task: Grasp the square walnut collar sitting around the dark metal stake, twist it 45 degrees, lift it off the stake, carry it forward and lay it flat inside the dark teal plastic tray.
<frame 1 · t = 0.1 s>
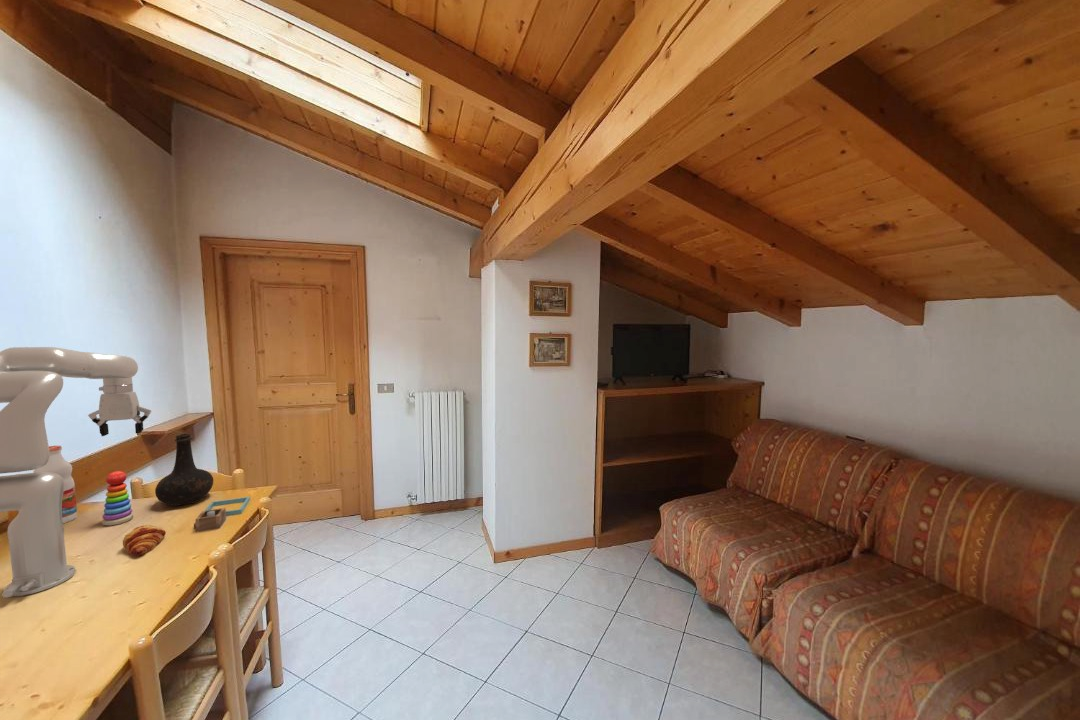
hand: (122, 433, 151), 31 cm above the table, fingers open, 9 cm apart
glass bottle: (186, 501, 165), on the table
stake: (211, 526, 144), on the table
stacking toy: (118, 521, 147), on the table
croissant: (145, 545, 132), on the table
collar: (211, 525, 144), point 1 cm above the table, touching stake
fruit juice: (58, 521, 147), on the table
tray: (226, 510, 156), on the table
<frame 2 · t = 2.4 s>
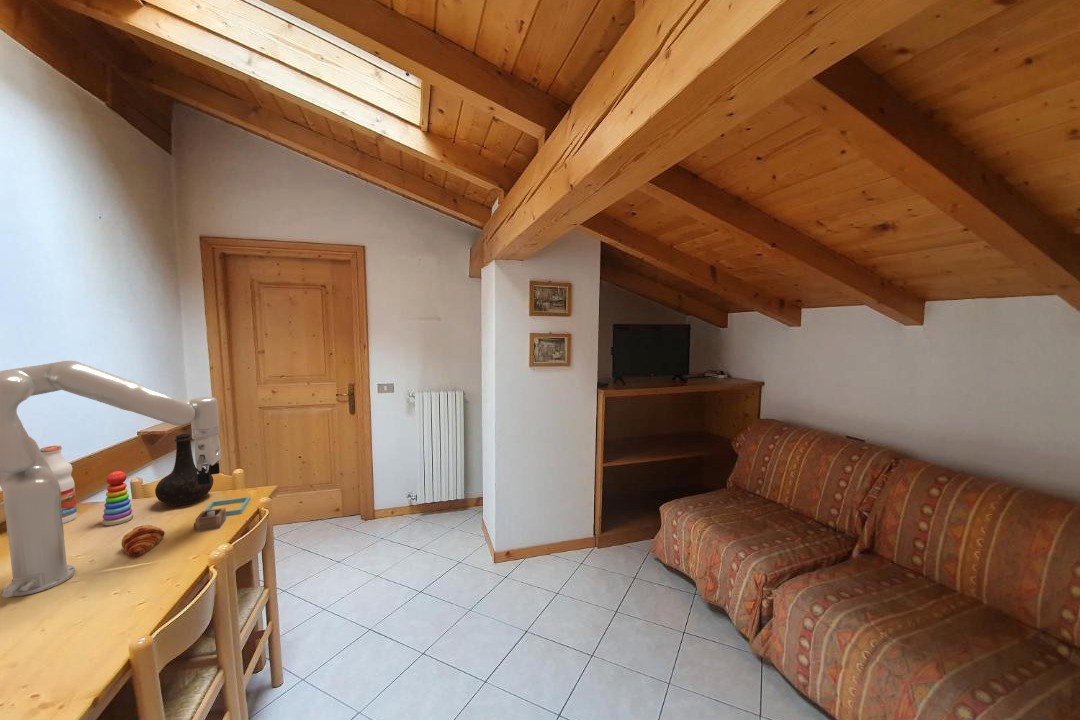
hand: (209, 478, 143), 18 cm above the table, fingers open, 9 cm apart
nothing on the table moved.
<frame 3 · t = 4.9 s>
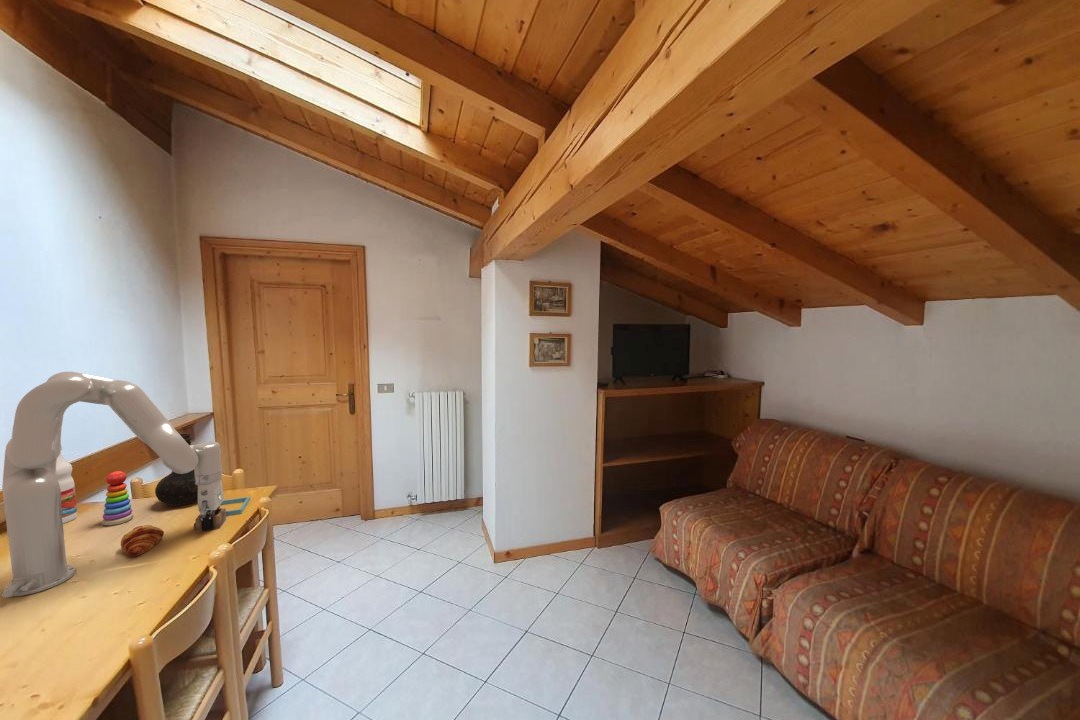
hand: (211, 524, 144), 1 cm above the table, fingers closed on collar, 6 cm apart
collar: (211, 525, 144), point 1 cm above the table, touching gripper, stake
everything else where it was.
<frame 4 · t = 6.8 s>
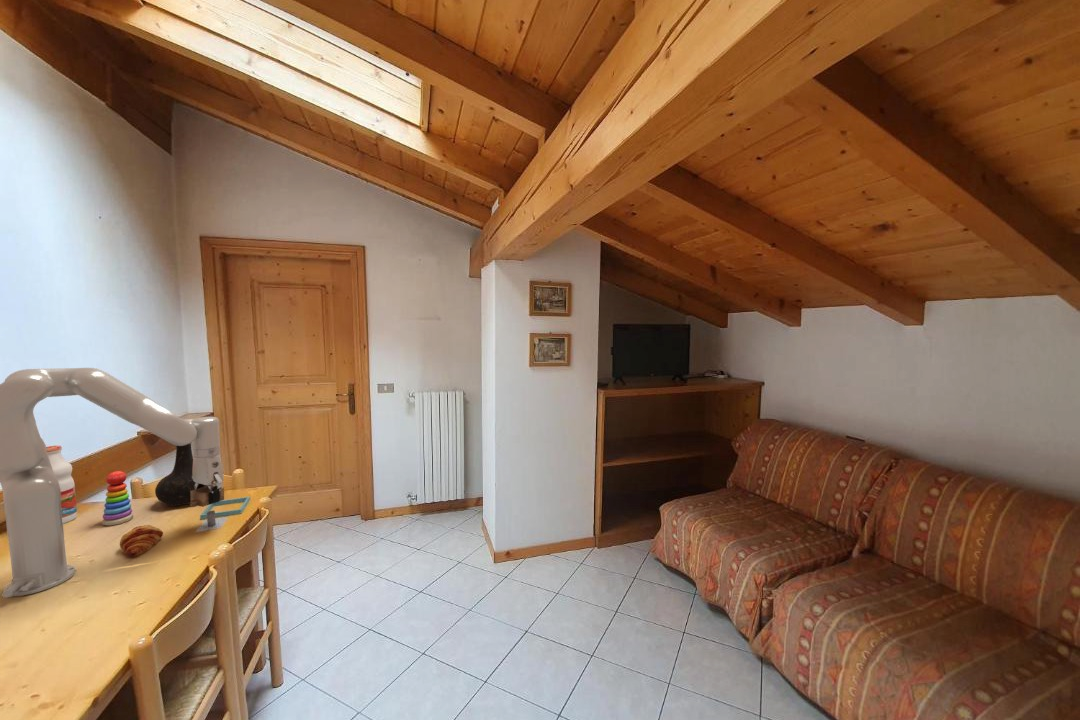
hand: (207, 500, 143), 10 cm above the table, fingers closed on collar, 6 cm apart
collar: (207, 501, 143), point 10 cm above the table, touching gripper
everything else where it was.
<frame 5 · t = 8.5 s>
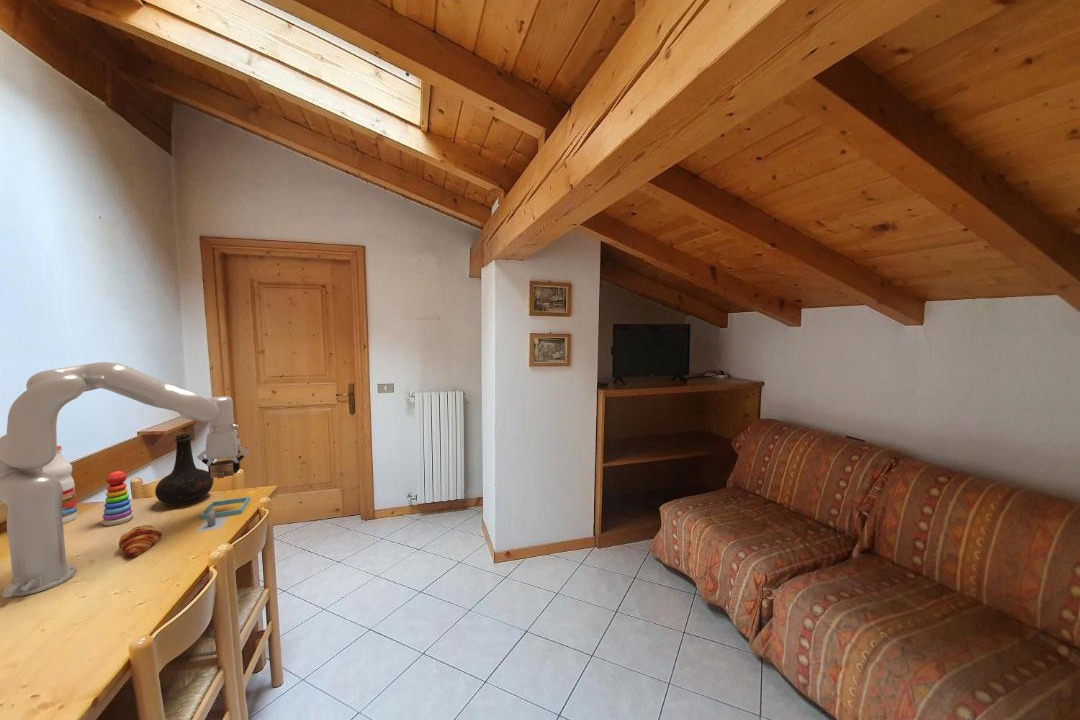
hand: (224, 473, 155), 15 cm above the table, fingers closed on collar, 6 cm apart
collar: (224, 473, 155), point 15 cm above the table, touching gripper
everything else where it was.
when the fingers open (3 cm above the table, at t = 11.6 s): collar drops 2 cm, resting on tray.
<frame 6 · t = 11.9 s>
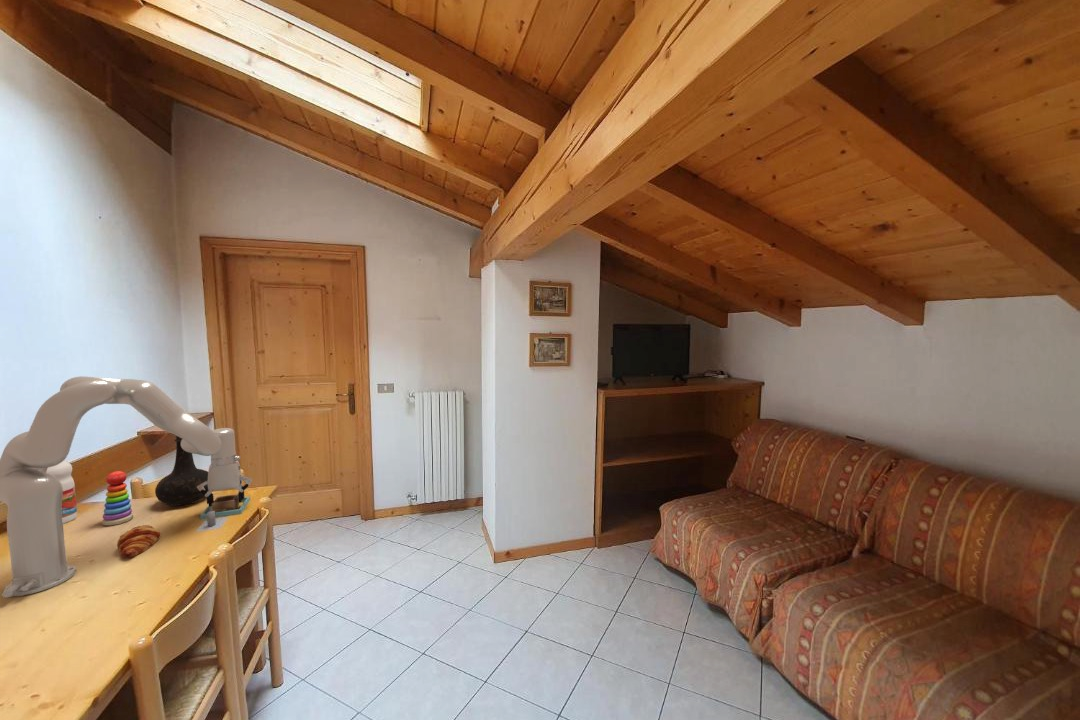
hand: (226, 502, 156), 3 cm above the table, fingers open, 9 cm apart
collar: (226, 509, 156), resting on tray
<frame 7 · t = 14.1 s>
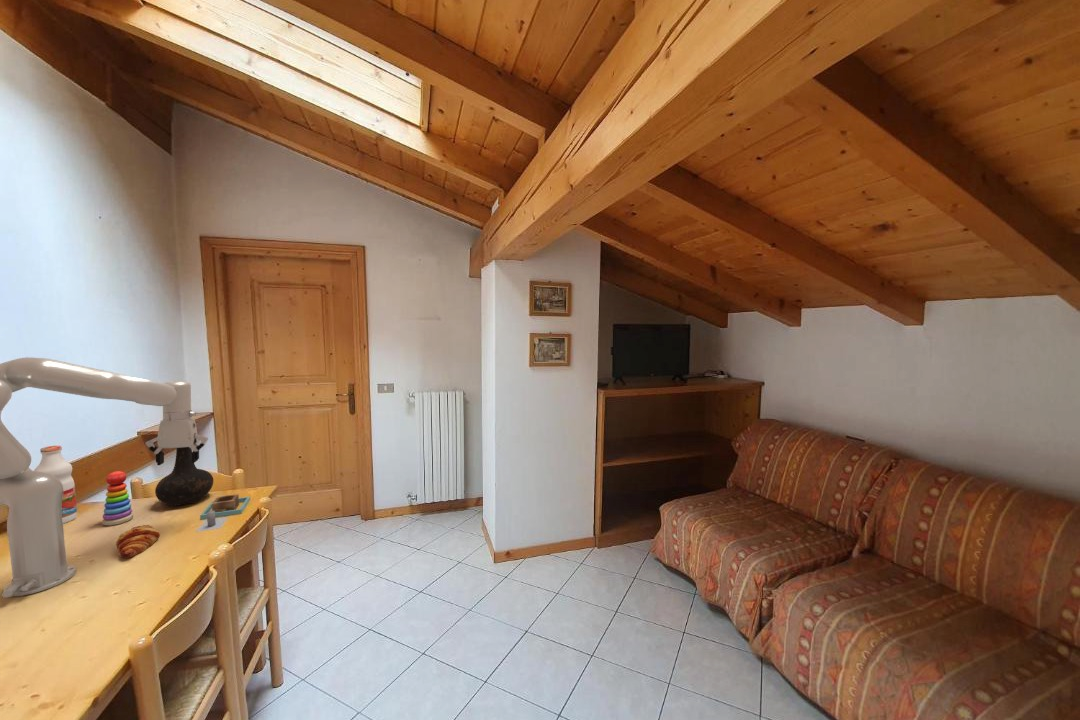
hand: (177, 462, 144), 23 cm above the table, fingers open, 9 cm apart
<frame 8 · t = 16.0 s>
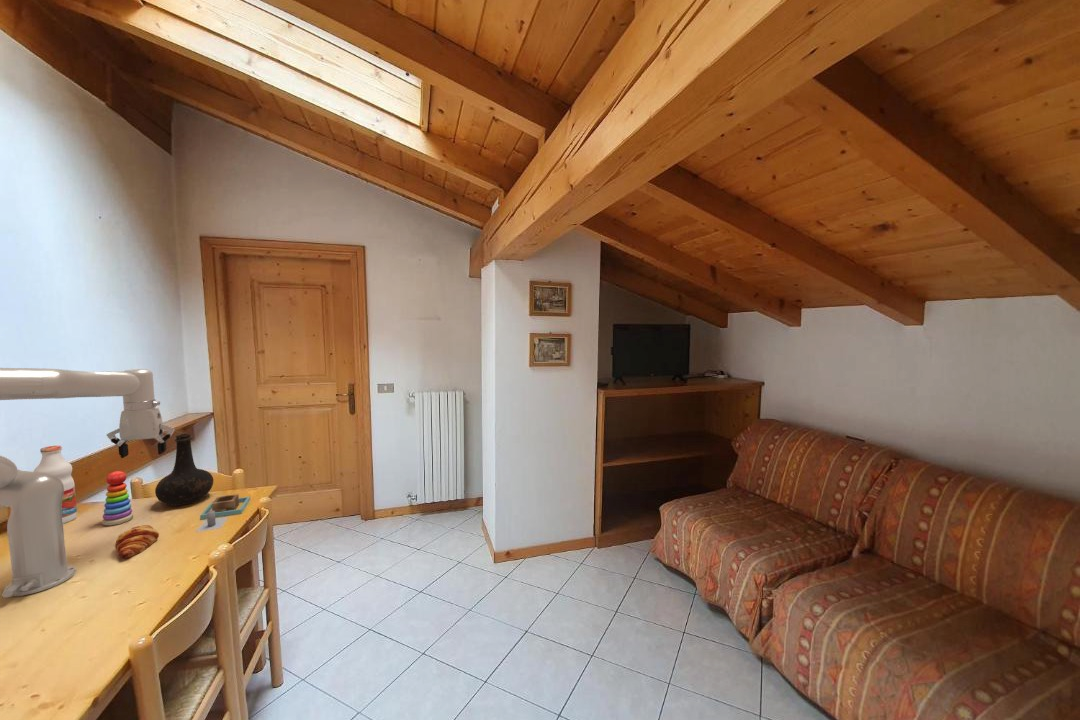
hand: (143, 455, 136), 28 cm above the table, fingers open, 9 cm apart
at the end: collar inside the target area on the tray (0.1 cm from its centre), point 0.5 cm above the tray's base; collar tilted 0°; the gripper is holding nothing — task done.
